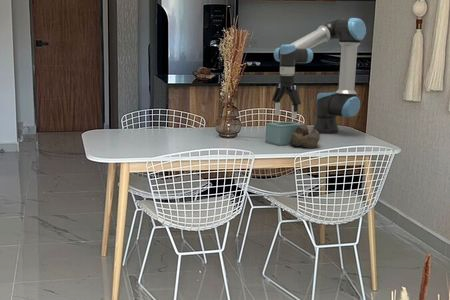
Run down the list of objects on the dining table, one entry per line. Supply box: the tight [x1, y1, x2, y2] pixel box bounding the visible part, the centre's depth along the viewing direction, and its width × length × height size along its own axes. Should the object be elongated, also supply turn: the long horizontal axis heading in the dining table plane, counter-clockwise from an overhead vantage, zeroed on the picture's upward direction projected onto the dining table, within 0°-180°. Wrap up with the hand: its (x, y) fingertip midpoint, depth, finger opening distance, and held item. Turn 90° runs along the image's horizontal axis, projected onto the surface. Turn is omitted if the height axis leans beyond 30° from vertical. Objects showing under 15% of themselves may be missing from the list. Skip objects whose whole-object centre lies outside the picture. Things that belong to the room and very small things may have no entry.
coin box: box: [264, 120, 306, 147], centre depth 308 cm, size 16×12×10 cm
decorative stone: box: [290, 124, 321, 149], centre depth 299 cm, size 16×11×15 cm
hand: (285, 116), depth 306 cm, fingers open, 13 cm apart
